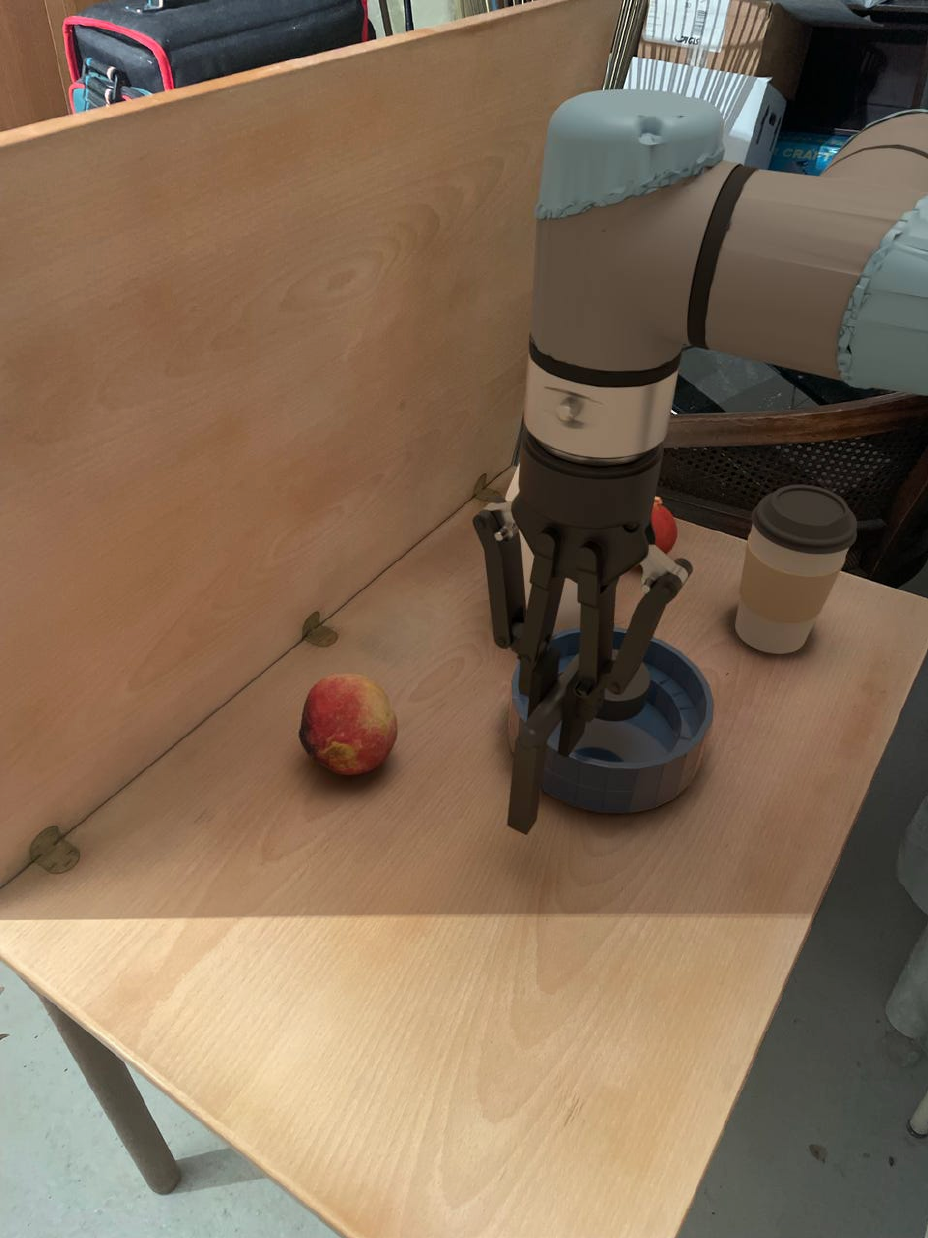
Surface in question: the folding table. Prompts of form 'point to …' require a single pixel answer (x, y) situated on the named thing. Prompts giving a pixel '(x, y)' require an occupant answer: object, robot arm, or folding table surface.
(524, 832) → the ladle
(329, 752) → the fruit
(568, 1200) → the folding table surface
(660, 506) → the red pomegranate
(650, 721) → the bowl
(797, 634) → the coffee cup
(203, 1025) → the folding table surface
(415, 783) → the folding table surface
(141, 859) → the folding table surface
